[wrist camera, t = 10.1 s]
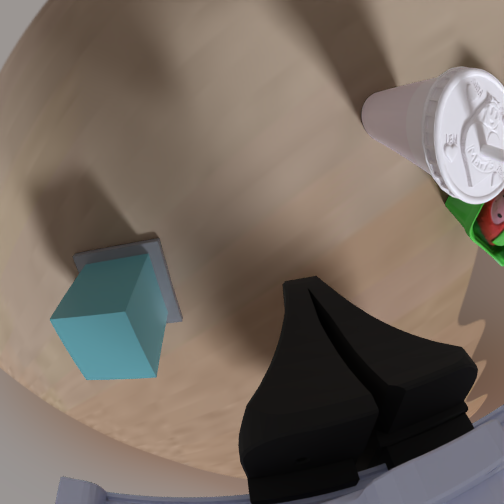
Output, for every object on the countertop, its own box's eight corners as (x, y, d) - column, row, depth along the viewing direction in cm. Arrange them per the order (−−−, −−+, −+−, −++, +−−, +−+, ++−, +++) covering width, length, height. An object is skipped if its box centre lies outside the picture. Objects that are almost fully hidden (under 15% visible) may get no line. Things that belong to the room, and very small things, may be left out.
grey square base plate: (182, 317, 24) (176, 368, 19) (105, 325, 24) (88, 372, 19) (159, 238, 21) (142, 279, 16) (75, 253, 20) (43, 294, 16)
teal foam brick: (168, 312, 23) (156, 377, 17) (109, 319, 23) (86, 379, 17) (148, 253, 21) (125, 311, 15) (85, 264, 20) (49, 319, 15)
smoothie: (331, 144, 19) (492, 224, 6) (356, 58, 16) (532, 32, 4) (406, 172, 20) (557, 261, 8) (429, 95, 18) (594, 127, 5)
